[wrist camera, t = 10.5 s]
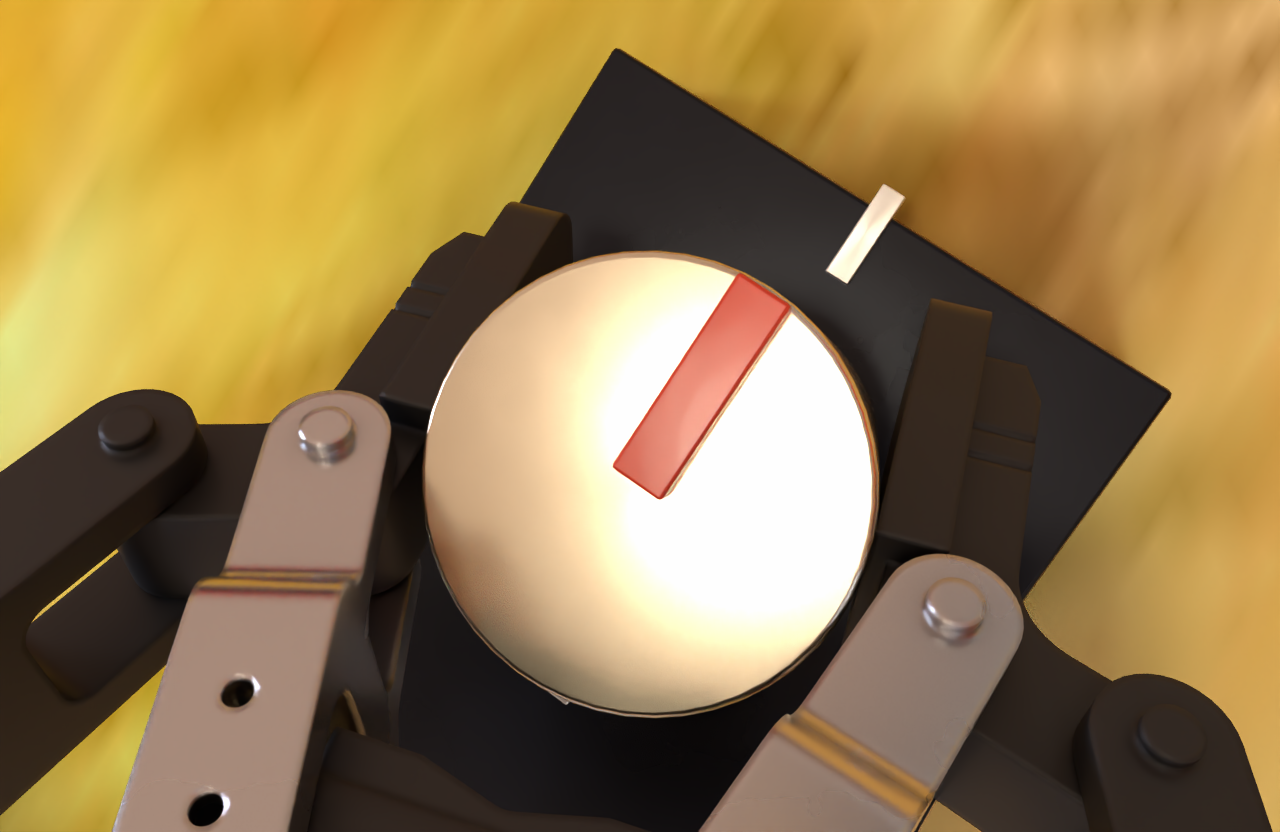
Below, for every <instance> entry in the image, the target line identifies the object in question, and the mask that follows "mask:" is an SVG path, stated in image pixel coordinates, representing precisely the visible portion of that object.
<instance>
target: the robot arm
mask: <svg viewBox="0 0 1280 832" xmlns="http://www.w3.org/2000/svg"><path fill="white" fill-rule="evenodd" d="M571 263H573V239H572V223H571V219H570V217H569V215H568V214H566V213H561V212H557V211H552V210H548V209H544V208H539V207H535V206H531V205H526V204H522V203H517V202H510V203H508V204H507V205H506V206H505V207H504V209H503V210H502V212H501V213H500V215H499V216H498V218H497V219H496V220H495V222H494V223H493V225H492V226H491V228H490V229H489V231H488V232H487V234H486V235H485V237H483V236H479V235H475V234H471V233H466V232H463V233H462V234H460V235H458V236H457V237H455V238H454V239H452V240H451V241H449V242H448V243H446V244H445V245H443V246H442V247H440V248H439V249H437V250H436V251H434V252H433V253H431V254H430V256H429V257H428V259H427V260H426V261H425V263H424V264H423V266H422V267H421V268H420V270H419V271H418V273H417V274H416V276H415V277H414V278H413V280H412V283H411V287H407V288H406V290H405V291H404V292H403V294H402V295H401V297H400V298H399V300H398V301H397V302H396V307H395V309H394V310H393V309H391V311H390V312H389V314H388V315H387V316H386V318H385V319H384V321H383V322H382V324H381V325H380V326H379V328H378V329H377V331H376V332H375V333H374V335H373V336H372V338H371V339H370V340H369V342H368V343H367V345H366V346H365V348H364V349H363V350H362V352H361V353H360V355H359V356H358V357H357V359H356V360H355V362H354V363H353V364H352V366H351V367H350V369H349V370H348V372H347V373H346V374H345V376H344V377H343V379H342V380H341V381H340V383H339V384H338V386H337V387H336V388H335V389H334V390H330V391H323V392H318V393H314V394H311V395H307V396H305V397H303V398H300V399H298V400H296V401H295V402H293V403H291V404H289V405H288V406H287V407H286V408H284V409H283V410H282V411H281V412H280V413H279V414H278V415H277V416H276V417H275V418H274V419H273V421H272V422H271V423H265V424H198V423H197V421H196V418H195V416H194V414H193V411H192V409H191V408H190V406H189V405H188V404H187V403H186V402H185V401H184V400H183V399H181V398H180V397H178V396H176V395H174V394H172V393H169V392H165V391H161V390H154V389H141V390H133V391H128V392H124V393H120V394H117V395H114V396H111V397H109V398H107V399H105V400H102V401H100V402H99V403H97V404H95V405H94V406H92V407H91V408H89V409H88V410H86V411H85V412H84V413H82V414H81V415H79V416H78V417H77V418H75V419H74V420H73V421H71V422H70V423H68V424H67V425H66V426H64V427H63V428H61V429H60V430H59V431H57V432H56V433H54V434H53V435H52V436H50V437H49V438H47V439H46V440H45V441H43V442H42V443H40V444H39V445H38V446H36V447H35V448H33V449H32V450H31V451H29V452H28V453H27V454H25V455H24V456H22V457H21V458H20V459H18V460H17V461H15V462H14V463H13V464H11V465H10V466H8V467H7V468H6V469H4V470H3V471H1V472H0V815H1V814H3V813H4V812H5V811H6V810H7V809H8V808H9V807H10V806H11V805H12V804H13V803H15V802H16V801H17V800H18V799H19V798H20V797H21V796H22V795H23V794H24V793H26V792H27V791H28V790H29V789H30V788H31V787H32V786H33V785H34V784H35V783H37V782H38V781H39V780H40V779H41V778H42V777H43V776H44V775H45V774H46V773H48V772H49V771H50V770H51V769H52V768H53V767H54V766H55V765H56V764H57V763H59V762H60V761H61V760H62V759H63V758H64V757H65V756H66V755H67V754H68V753H70V752H71V751H72V750H73V749H74V748H75V747H76V746H77V745H78V744H79V743H81V742H82V741H83V740H84V739H85V738H86V737H87V736H88V735H89V734H90V733H91V732H93V731H94V730H95V729H96V728H97V727H98V726H99V725H100V724H101V723H102V722H104V721H105V720H106V719H107V718H108V717H109V716H110V715H111V714H112V713H113V712H115V711H116V710H117V709H118V708H119V707H120V706H121V705H122V704H123V703H124V702H126V701H127V700H128V699H129V698H130V697H131V696H132V695H133V694H134V693H135V692H137V691H138V690H139V689H140V688H141V687H142V686H143V685H144V684H145V683H146V682H148V681H149V680H150V679H151V678H152V677H153V676H154V675H155V674H156V673H157V672H159V671H160V670H161V669H162V668H163V667H164V666H165V665H166V664H167V665H166V668H165V671H164V674H163V677H162V680H161V683H160V686H159V689H158V692H157V695H156V698H155V701H154V704H153V707H152V710H151V713H150V716H149V720H148V723H147V726H146V729H145V732H144V735H143V738H142V741H141V744H140V747H139V750H138V753H137V756H136V759H135V762H134V765H133V768H132V771H131V775H130V778H129V781H128V784H127V787H126V790H125V793H124V796H123V799H122V802H121V805H120V808H119V811H118V814H117V817H116V820H115V823H114V826H113V830H112V832H650V831H647V830H644V829H641V828H638V827H635V826H632V825H629V824H626V823H623V822H620V821H617V820H614V819H611V818H602V817H587V816H572V815H557V814H542V813H527V812H514V811H508V810H505V809H502V808H500V807H498V806H496V805H495V804H493V803H492V802H490V801H489V800H487V799H486V798H484V797H483V796H481V795H480V794H479V793H477V792H476V791H474V790H473V789H471V788H470V787H468V786H467V785H465V784H464V783H463V782H461V781H460V780H458V779H457V778H455V777H454V776H452V775H451V774H450V773H448V772H447V771H445V770H444V769H442V768H441V767H439V766H438V765H436V764H435V763H434V762H432V761H431V760H429V759H428V758H426V757H425V756H423V755H421V754H418V753H415V752H412V751H409V750H407V749H404V748H401V747H399V730H398V715H399V703H400V696H401V690H402V684H403V678H404V672H405V666H406V661H407V655H408V649H409V643H410V637H411V631H412V625H413V619H414V613H415V607H416V601H417V595H418V589H419V583H420V578H421V565H420V559H419V558H420V556H421V554H422V552H423V551H424V549H425V547H426V545H427V544H428V542H429V538H428V534H427V530H426V527H425V520H424V512H423V504H422V497H421V465H422V457H423V449H424V440H425V435H426V431H427V427H428V423H429V419H430V415H431V411H432V407H433V405H434V402H435V400H436V397H437V394H438V392H439V389H440V387H441V384H442V382H443V380H444V378H445V376H446V374H447V372H448V370H449V369H450V367H451V365H452V363H453V361H454V359H455V357H456V356H457V354H458V353H459V352H460V350H461V349H462V347H463V346H464V345H465V343H466V342H467V340H468V339H469V338H470V336H471V335H472V333H473V332H474V331H475V330H476V329H477V328H478V327H479V326H480V325H481V323H482V322H483V321H484V320H485V319H486V318H487V317H488V316H489V315H490V314H491V313H492V312H493V311H494V310H495V309H496V308H497V307H499V306H500V305H501V304H502V303H503V302H505V301H506V300H507V299H508V298H509V297H511V296H512V295H513V294H514V293H516V292H517V291H519V290H520V289H522V288H523V287H525V286H527V285H528V284H530V283H531V282H533V281H535V280H536V279H538V278H539V277H541V276H543V275H546V274H548V273H550V272H552V271H554V270H557V269H559V268H561V267H563V266H565V265H568V264H571ZM991 321H992V312H990V311H986V310H982V309H977V308H973V307H968V306H964V305H960V304H955V303H951V302H947V301H942V300H938V299H933V298H931V299H930V302H929V305H928V309H927V312H926V316H925V319H924V323H923V326H922V330H921V333H920V337H919V340H918V344H917V347H916V351H915V354H914V358H913V361H912V365H911V368H910V372H909V375H908V379H907V382H906V386H905V389H904V393H903V396H902V400H901V404H900V407H899V411H898V415H897V419H896V423H895V427H894V431H893V435H892V439H891V443H890V447H889V451H888V455H887V459H886V463H885V467H884V472H883V476H882V480H881V484H880V506H879V513H878V520H877V527H876V534H875V539H874V543H873V546H872V550H871V553H870V557H869V561H868V564H867V568H866V570H865V572H864V574H863V577H862V579H861V581H860V584H859V586H858V588H857V591H856V593H855V595H854V597H853V599H852V603H851V607H850V612H849V616H848V620H847V624H846V628H845V632H844V636H843V640H842V645H841V648H840V650H839V651H838V653H837V654H836V655H835V657H834V658H833V660H832V661H831V663H830V664H829V665H828V667H827V668H826V670H825V671H824V673H823V674H822V676H821V677H820V678H819V680H818V681H817V683H816V684H815V686H814V687H813V688H812V690H811V691H810V693H809V694H808V696H807V697H806V699H805V700H804V701H803V703H802V704H801V705H800V707H799V708H798V709H797V710H796V711H795V712H794V713H793V714H792V715H789V714H786V715H784V716H783V717H782V718H781V719H780V720H779V721H778V722H777V723H776V724H775V725H774V726H773V727H772V729H771V730H770V731H769V732H768V734H767V735H766V737H765V738H764V739H763V741H762V742H761V743H760V745H759V746H758V748H757V749H756V751H755V752H754V753H753V755H752V756H751V758H750V759H749V761H748V762H747V763H746V765H745V766H744V768H743V769H742V770H741V772H740V773H739V775H738V776H737V778H736V779H735V780H734V782H733V783H732V785H731V786H730V787H729V789H728V790H727V792H726V793H725V795H724V796H723V797H722V799H721V800H720V802H719V803H718V805H717V806H716V807H715V809H714V810H713V812H712V813H711V814H710V816H709V817H708V819H707V820H706V822H705V823H704V824H703V826H702V827H701V829H700V830H699V832H919V830H920V829H921V827H922V825H923V823H924V822H925V820H926V818H927V816H928V815H929V813H930V811H931V809H932V808H933V806H934V804H935V802H936V801H938V802H940V803H941V804H943V805H944V806H946V807H947V808H949V809H950V810H951V811H953V812H954V813H956V814H957V815H959V816H960V817H962V818H963V819H965V820H966V821H967V822H969V823H970V824H972V825H973V826H975V827H976V828H978V829H979V830H981V831H982V832H1272V829H1271V826H1270V823H1269V820H1268V817H1267V814H1266V811H1265V808H1264V805H1263V802H1262V799H1261V796H1260V793H1259V790H1258V787H1257V784H1256V781H1255V778H1254V775H1253V772H1252V770H1251V767H1250V764H1249V761H1248V758H1247V755H1246V752H1245V749H1244V746H1243V743H1242V741H1241V739H1240V736H1239V734H1238V732H1237V730H1236V729H1235V727H1234V726H1233V724H1232V722H1231V721H1230V720H1229V718H1228V717H1227V716H1226V715H1225V713H1224V712H1223V711H1222V710H1221V709H1220V708H1219V707H1218V706H1217V705H1216V704H1215V703H1214V702H1213V701H1212V700H1210V699H1209V698H1208V697H1206V696H1205V695H1204V694H1202V693H1201V692H1200V691H1198V690H1196V689H1194V688H1193V687H1191V686H1189V685H1187V684H1185V683H1183V682H1180V681H1178V680H1175V679H1172V678H1169V677H1165V676H1161V675H1154V674H1134V675H1129V676H1124V677H1121V678H1119V679H1117V680H1114V681H1113V682H1112V681H1111V680H1109V679H1107V678H1106V677H1104V676H1102V675H1101V674H1099V673H1097V672H1096V671H1094V670H1092V669H1091V668H1089V667H1087V666H1086V665H1084V664H1082V663H1081V662H1079V661H1077V660H1076V659H1074V658H1072V657H1071V656H1069V655H1068V654H1066V653H1065V652H1063V651H1062V650H1060V649H1059V648H1058V647H1056V646H1055V645H1054V644H1053V643H1052V642H1051V641H1049V640H1048V639H1047V638H1046V637H1045V636H1044V635H1043V633H1042V632H1041V631H1040V630H1039V629H1038V628H1037V626H1036V625H1035V624H1034V622H1033V621H1032V619H1031V618H1030V616H1029V614H1028V612H1027V610H1026V608H1025V606H1024V604H1023V601H1022V598H1021V594H1020V588H1019V571H1020V563H1021V555H1022V548H1023V540H1024V532H1025V524H1026V516H1027V509H1028V501H1029V493H1030V485H1031V477H1032V473H1031V471H1032V467H1033V462H1034V454H1035V446H1036V444H1035V441H1036V438H1037V431H1038V423H1039V415H1040V407H1041V400H1040V398H1039V395H1038V393H1037V390H1036V388H1035V385H1034V383H1033V380H1032V378H1031V375H1030V373H1029V370H1028V368H1027V366H1025V365H1021V364H1017V363H1013V362H1008V361H1004V360H1000V359H996V358H991V357H987V356H985V355H986V349H987V343H988V338H989V332H990V327H991ZM116 549H117V550H118V551H119V552H118V553H117V554H115V555H114V556H113V557H112V558H110V559H109V560H108V561H107V562H106V563H104V564H103V565H102V566H101V567H99V568H98V569H97V570H96V571H95V572H93V573H92V574H91V575H90V576H88V577H87V578H86V579H85V580H84V581H82V582H81V583H80V584H79V585H77V586H76V587H75V588H74V589H73V590H71V591H70V592H69V593H68V594H66V595H65V596H64V597H63V598H62V599H60V600H59V601H58V602H57V603H55V604H54V605H53V606H52V607H50V608H49V609H48V610H47V611H46V612H44V613H43V614H42V615H41V616H39V617H38V618H37V619H36V620H35V621H33V620H34V618H35V617H36V616H37V614H38V613H39V612H40V611H41V610H42V609H43V608H44V607H46V606H47V605H48V604H49V603H50V602H52V601H53V600H54V599H55V598H57V597H58V596H59V595H60V594H62V593H63V592H64V591H65V590H66V589H68V588H69V587H70V586H71V585H73V584H74V583H75V582H76V581H78V580H79V579H80V578H81V577H82V576H84V575H85V574H86V573H87V572H89V571H90V570H91V569H92V568H93V567H95V566H96V565H97V564H98V563H100V562H101V561H102V560H103V559H105V558H106V557H107V556H108V555H109V554H111V553H112V552H113V551H114V550H116ZM32 621H33V622H32Z"/></svg>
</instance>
